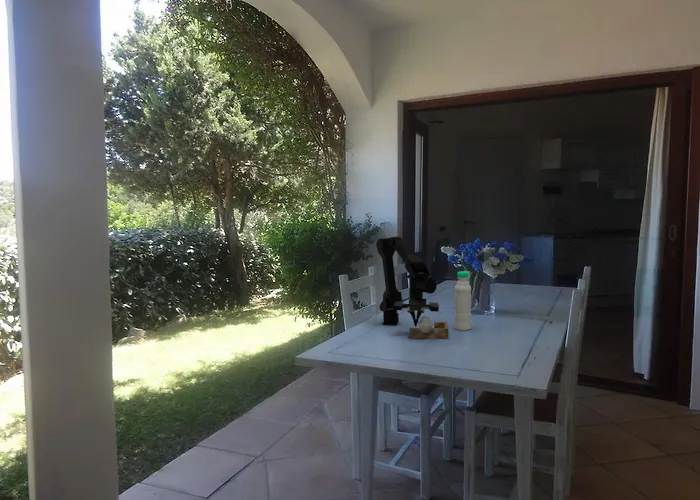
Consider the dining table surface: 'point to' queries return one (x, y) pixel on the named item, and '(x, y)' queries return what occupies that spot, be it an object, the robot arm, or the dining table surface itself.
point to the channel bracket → (431, 332)
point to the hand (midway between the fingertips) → (415, 326)
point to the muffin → (425, 324)
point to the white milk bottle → (462, 302)
